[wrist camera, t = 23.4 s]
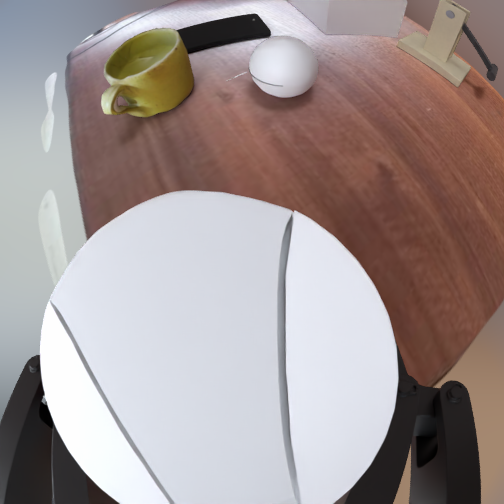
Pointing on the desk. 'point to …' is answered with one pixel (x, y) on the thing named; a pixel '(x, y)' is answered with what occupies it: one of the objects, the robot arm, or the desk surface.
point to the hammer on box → (354, 16)
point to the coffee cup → (218, 356)
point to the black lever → (481, 53)
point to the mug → (148, 74)
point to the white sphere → (283, 66)
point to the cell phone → (223, 31)
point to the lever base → (441, 42)
